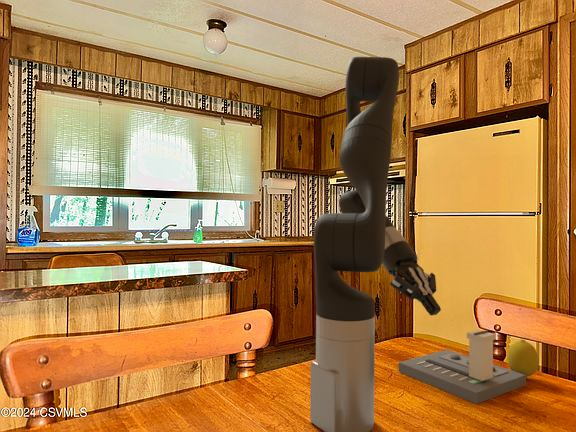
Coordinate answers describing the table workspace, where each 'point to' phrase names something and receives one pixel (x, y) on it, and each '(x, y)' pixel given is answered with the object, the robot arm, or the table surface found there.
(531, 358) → the lemon
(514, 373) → the console
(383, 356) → the table surface
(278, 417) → the table surface
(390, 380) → the table surface
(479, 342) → the fader knob
